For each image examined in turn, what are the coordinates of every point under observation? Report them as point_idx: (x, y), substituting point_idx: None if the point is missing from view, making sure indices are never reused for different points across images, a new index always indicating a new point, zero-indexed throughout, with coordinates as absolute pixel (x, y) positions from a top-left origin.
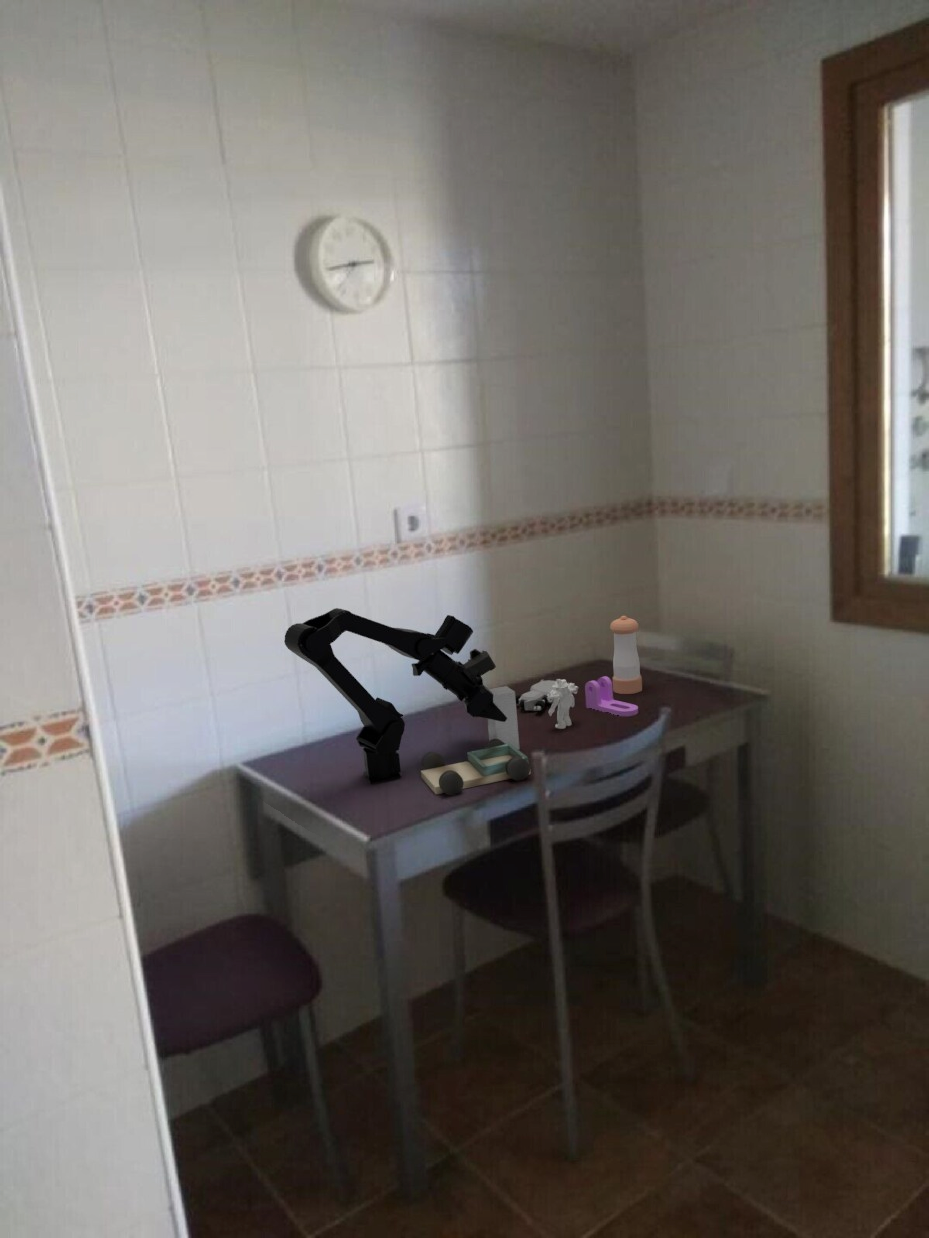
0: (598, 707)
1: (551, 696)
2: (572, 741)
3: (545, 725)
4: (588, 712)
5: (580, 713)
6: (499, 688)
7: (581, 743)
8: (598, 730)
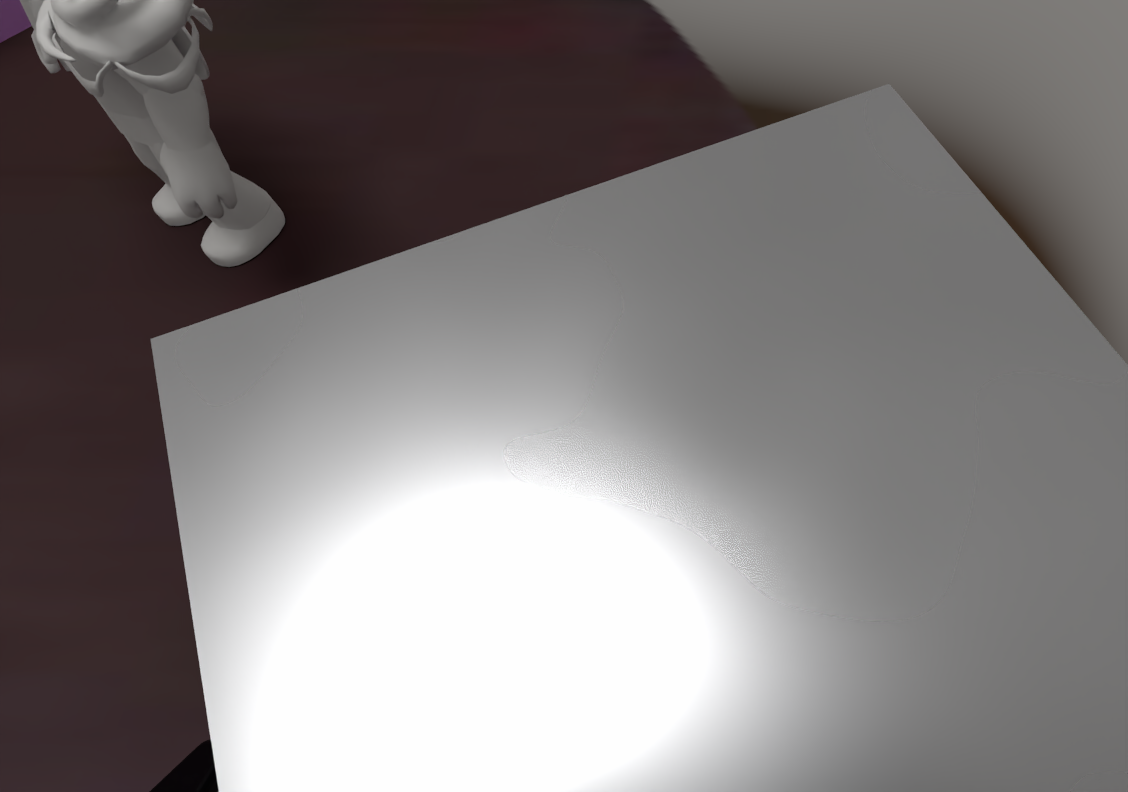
0: (9, 7)
1: (169, 5)
2: (580, 167)
3: (150, 336)
4: (23, 77)
5: (13, 117)
6: (358, 592)
7: (633, 119)
8: (404, 34)
